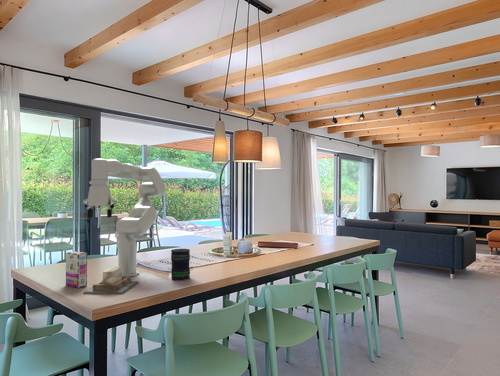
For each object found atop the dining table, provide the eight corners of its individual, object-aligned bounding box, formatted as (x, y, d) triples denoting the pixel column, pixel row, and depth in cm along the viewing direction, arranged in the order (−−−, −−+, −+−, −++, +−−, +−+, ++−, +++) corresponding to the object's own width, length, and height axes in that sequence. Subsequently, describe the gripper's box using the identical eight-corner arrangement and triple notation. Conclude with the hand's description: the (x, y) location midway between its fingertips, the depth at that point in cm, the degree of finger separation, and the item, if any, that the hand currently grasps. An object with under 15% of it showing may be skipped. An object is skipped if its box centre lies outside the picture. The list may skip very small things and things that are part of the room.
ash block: (102, 288, 166) (102, 271, 167) (112, 282, 177) (112, 266, 178) (112, 288, 166) (112, 271, 166) (121, 283, 177) (121, 266, 177)
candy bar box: (87, 286, 176) (87, 252, 176) (78, 288, 172) (77, 254, 172) (74, 283, 182) (74, 250, 182) (65, 285, 178) (65, 252, 178)
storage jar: (172, 276, 195) (172, 248, 195) (190, 275, 196) (190, 248, 196) (169, 280, 185) (169, 251, 185) (189, 280, 186) (188, 251, 186)
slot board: (103, 282, 182) (103, 275, 182) (138, 282, 181) (138, 275, 181) (83, 293, 162) (83, 285, 162) (122, 293, 161) (122, 286, 161)
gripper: (79, 183, 178) (79, 218, 177) (113, 183, 177) (113, 217, 177) (86, 183, 185) (86, 216, 185) (119, 183, 184) (119, 216, 184)
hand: (99, 217), depth 181 cm, fingers open, 9 cm apart
